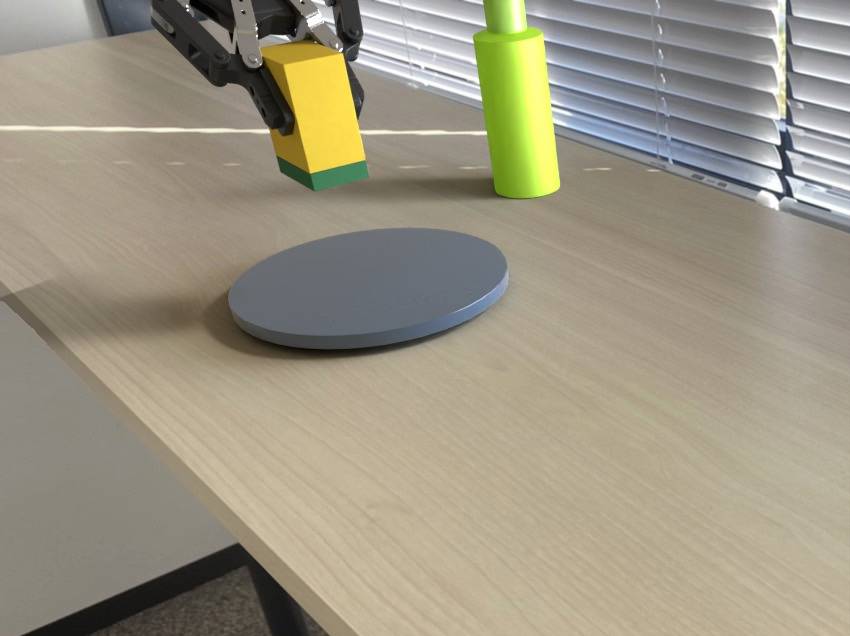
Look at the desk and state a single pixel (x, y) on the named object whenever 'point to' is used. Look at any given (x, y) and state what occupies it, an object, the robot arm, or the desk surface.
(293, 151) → the sponge
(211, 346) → the desk surface
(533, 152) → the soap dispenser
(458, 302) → the plate
